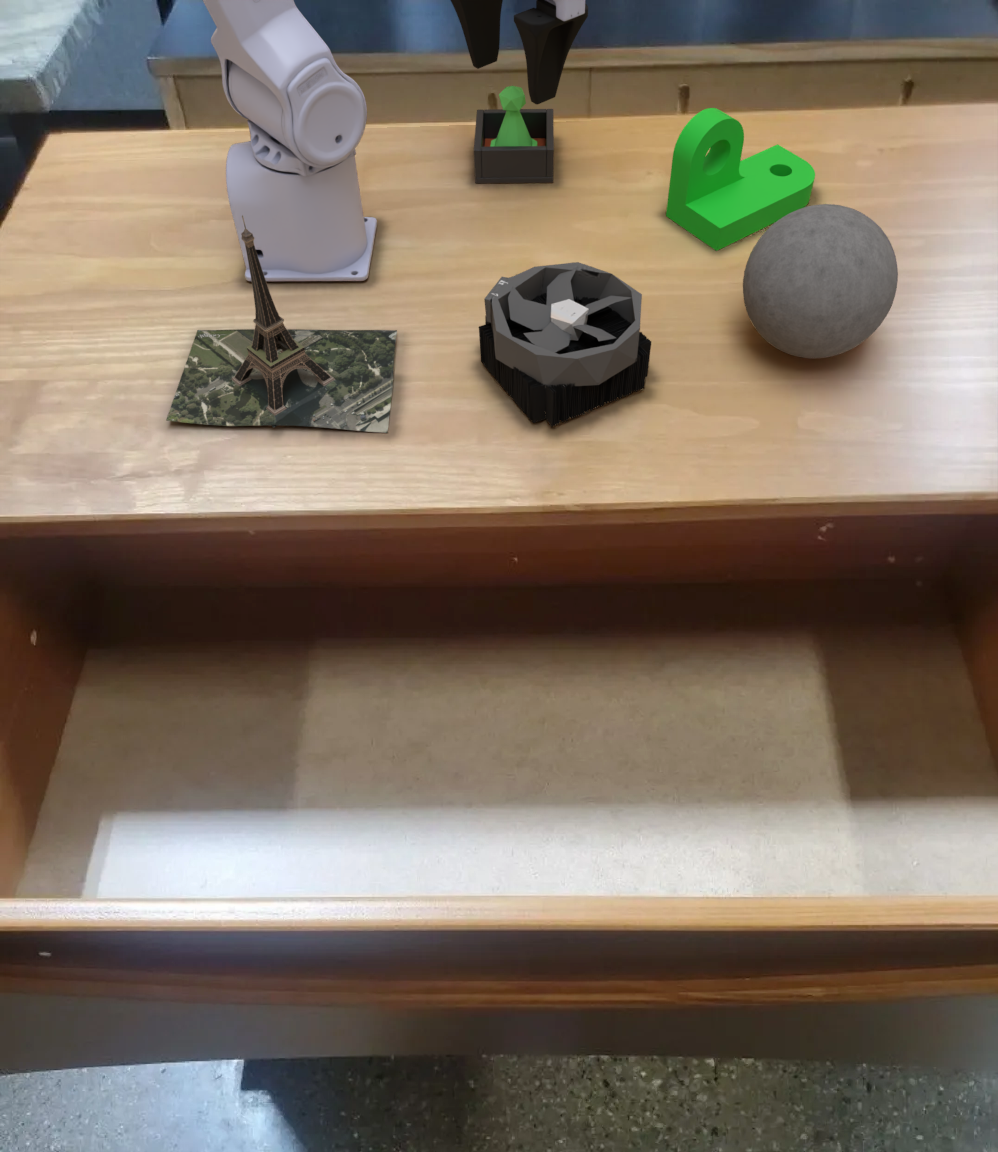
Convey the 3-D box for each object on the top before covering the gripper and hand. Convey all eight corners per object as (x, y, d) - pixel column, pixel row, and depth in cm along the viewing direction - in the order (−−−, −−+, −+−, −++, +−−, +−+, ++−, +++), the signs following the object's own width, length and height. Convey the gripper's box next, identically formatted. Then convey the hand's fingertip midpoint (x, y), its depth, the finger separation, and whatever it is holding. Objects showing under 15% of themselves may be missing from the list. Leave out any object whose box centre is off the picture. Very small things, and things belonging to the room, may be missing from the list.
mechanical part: (716, 251, 80) (732, 155, 74) (665, 216, 83) (676, 121, 77) (825, 198, 84) (849, 102, 78) (773, 166, 87) (791, 72, 81)
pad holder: (475, 183, 87) (473, 150, 84) (478, 142, 91) (476, 109, 88) (553, 183, 86) (553, 149, 84) (552, 141, 90) (553, 108, 88)
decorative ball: (757, 397, 70) (787, 273, 62) (714, 307, 76) (736, 183, 68) (897, 378, 70) (944, 253, 62) (844, 290, 76) (880, 166, 69)
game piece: (545, 162, 87) (546, 93, 82) (497, 172, 86) (495, 102, 81) (529, 137, 89) (529, 68, 85) (482, 147, 89) (479, 78, 84)
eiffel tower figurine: (401, 335, 75) (380, 164, 64) (387, 433, 68) (361, 262, 58) (198, 334, 75) (144, 165, 65) (166, 431, 69) (100, 262, 58)
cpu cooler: (674, 322, 66) (539, 376, 63) (665, 389, 70) (539, 443, 67) (588, 241, 71) (460, 288, 68) (585, 308, 76) (465, 354, 73)
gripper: (622, -96, 70) (610, 99, 81) (493, -151, 77) (497, 34, 88) (542, -68, 67) (541, 129, 78) (416, -128, 75) (431, 60, 85)
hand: (513, 81), depth 83 cm, fingers open, 7 cm apart
